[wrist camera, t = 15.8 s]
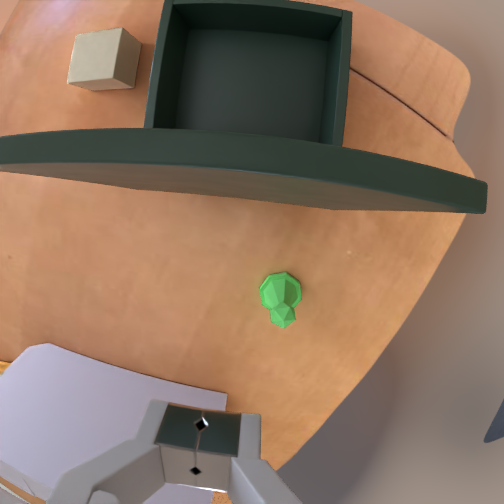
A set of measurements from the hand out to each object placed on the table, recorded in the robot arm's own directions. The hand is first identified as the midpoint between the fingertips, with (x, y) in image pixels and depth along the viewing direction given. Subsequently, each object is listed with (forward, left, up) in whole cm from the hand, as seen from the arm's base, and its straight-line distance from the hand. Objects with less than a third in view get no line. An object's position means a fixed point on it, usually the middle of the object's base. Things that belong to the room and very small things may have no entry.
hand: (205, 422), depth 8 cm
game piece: (+6, +4, -24) cm, 25 cm away
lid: (-6, -1, -8) cm, 10 cm away
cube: (-16, -15, -24) cm, 32 cm away
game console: (+22, -14, -24) cm, 35 cm away
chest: (-12, -1, -24) cm, 27 cm away
